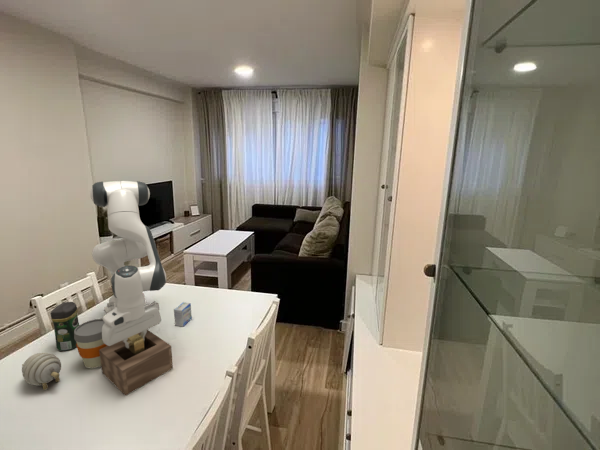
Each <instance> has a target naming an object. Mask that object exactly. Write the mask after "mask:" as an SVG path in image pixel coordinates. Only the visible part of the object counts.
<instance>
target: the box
mask: <svg viewBox="0 0 600 450" xmlns="http://www.w3.org/2000/svg"><path fill="white" fill-rule="evenodd" d="M138 335H141V332H140V333H138ZM144 339H145V340H144V349H145V350H144V351H142V352H139V353H137V354H134V353H133V352H131V351H130V350H129V349H128V348H126V346H125V343H124V342H123V341H120V342H118V343H115V344H113V345H111V346H107V347H104V348H102V349H100V350H99V353H100V360H101V366H100V368H101V371H102V374H103V375H104V376H105V377H106V379H108V380H109V381H110V382H111V383H112V385H114V386H115V387H116V388H117V389H118V390H119V391H120V392H121V393H122V394H123V396H128V395H129V394H131V393H132V392H134V391H136V390H139V388H141V387H143V386H145V385H147V384H148V383H150V382H152V381H153V380H155V379H157V378H158V377H161V376H162V375H164V374H165V373H167V372H169V371H170V370H172V369H174V365H173V352H172V345H171V344H170V343H168V342H166V341H165V340H164V339H162V338H160V337H159V336H157V335H156V334H155V333H153V332H152V331H150V330H149V329H147V333H146V335H145V337H144Z"/></svg>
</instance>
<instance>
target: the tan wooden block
mask: <svg viewBox="0 0 600 450" xmlns="http://www.w3.org/2000/svg"><path fill="white" fill-rule="evenodd" d="M128 341H129V342H131V345H132V346H131V347H130V348H128V349H129V350H130V351H131V352H133V353H134V354H137V353H139V352H142V351H144V350H145V349H144V339H143V338H142V337H141V336H140V335H138V334H136V335H133V336H131V337H129V338H128V340H127V342H128Z"/></svg>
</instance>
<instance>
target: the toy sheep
mask: <svg viewBox="0 0 600 450" xmlns="http://www.w3.org/2000/svg"><path fill="white" fill-rule="evenodd" d="M61 370H62V362H61V360H60V358H59V357H58V356H57V355H56V354H54V353H51V352H37V353H34V354H31V355H30V356H29V357H28V358H27V359H26V360H25V361H24V362H23V364H21V373H22V377H23V379H24V380H25V381H26V383H27V384H29V385H32V386H37V387H38V386H39V387H40V386H42V389H43V391H46V390H48V388H49V387H48V383H50V382H51V381H53V380H54V381H55V383H59V382H60V381H61V380H60V372H61Z"/></svg>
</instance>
